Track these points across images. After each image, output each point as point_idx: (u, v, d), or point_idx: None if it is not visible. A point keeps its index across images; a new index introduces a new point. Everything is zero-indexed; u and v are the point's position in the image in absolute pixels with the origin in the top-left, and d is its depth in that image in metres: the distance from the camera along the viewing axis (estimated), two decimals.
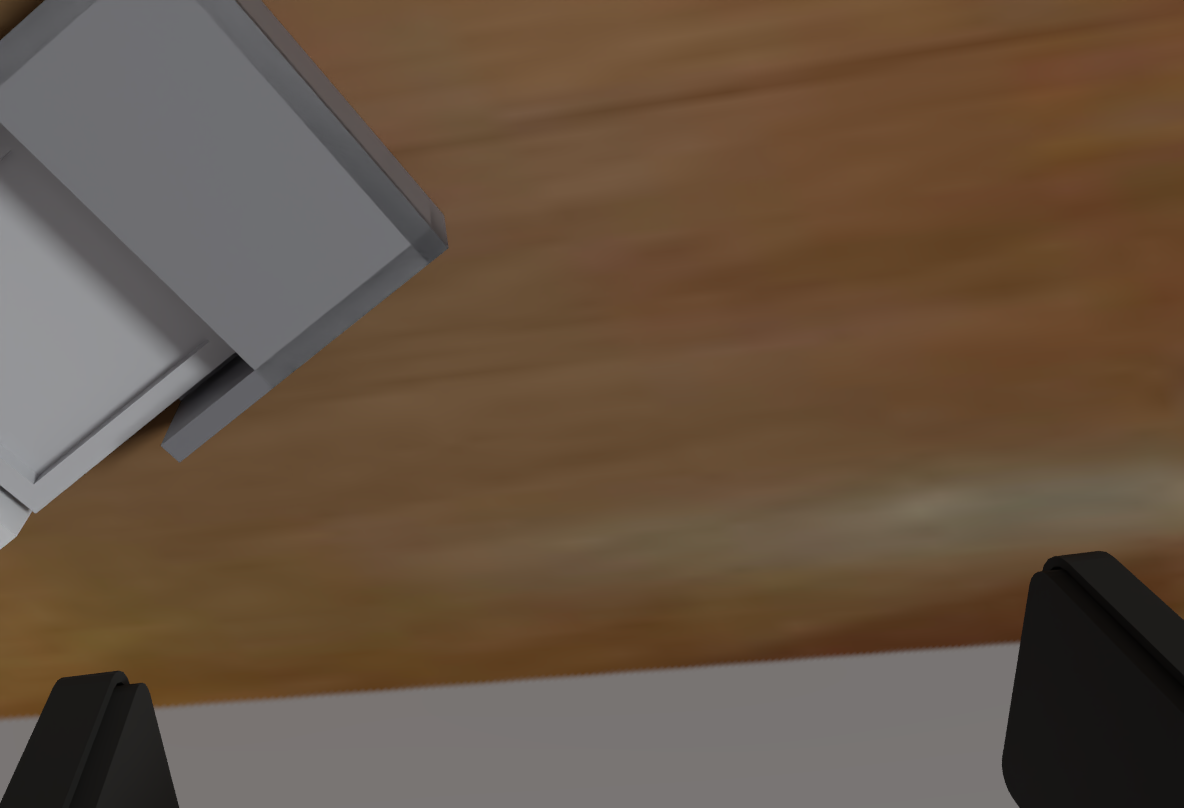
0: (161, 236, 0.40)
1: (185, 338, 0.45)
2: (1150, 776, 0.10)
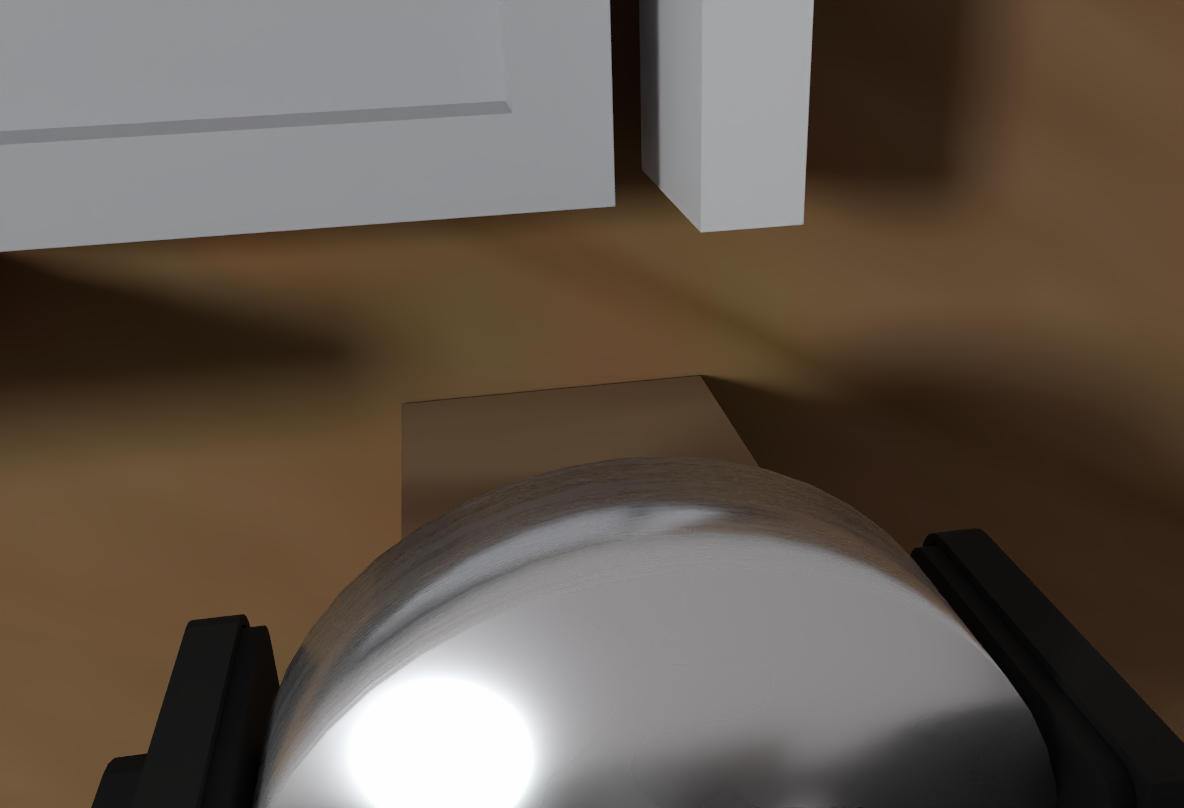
0: None
1: None
2: None
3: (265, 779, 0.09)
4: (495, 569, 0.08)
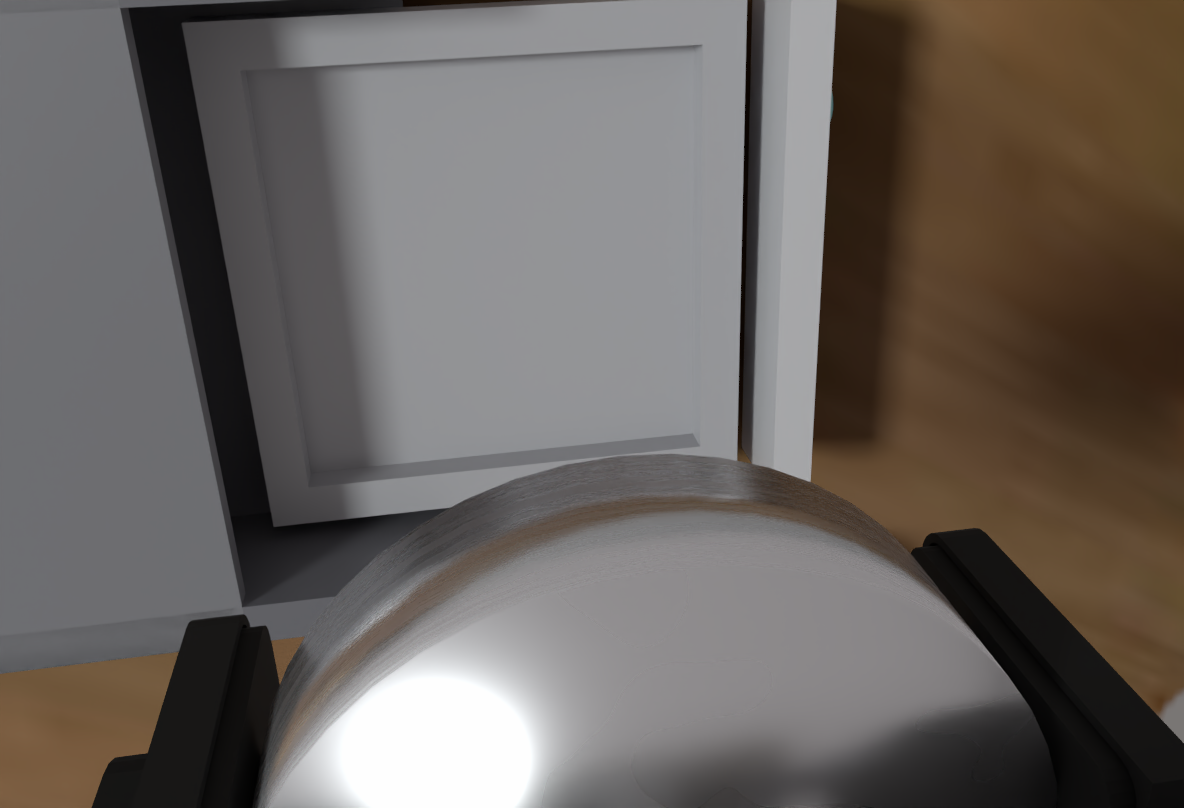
0: (122, 325, 0.22)
1: (292, 90, 0.24)
2: None
3: (265, 777, 0.09)
4: (496, 566, 0.08)
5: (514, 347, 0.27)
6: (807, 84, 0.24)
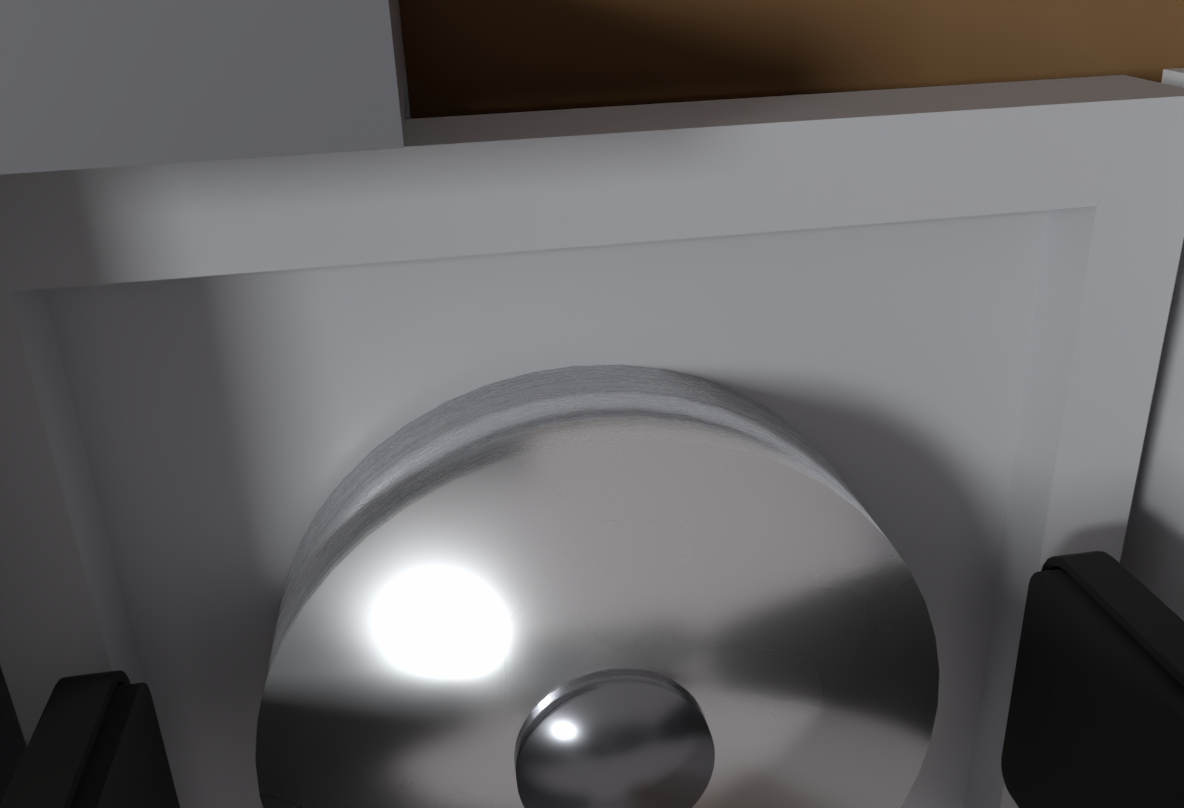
0: None
1: (155, 314, 0.10)
2: (1149, 776, 0.10)
3: (281, 621, 0.11)
4: (468, 445, 0.10)
5: None
6: None
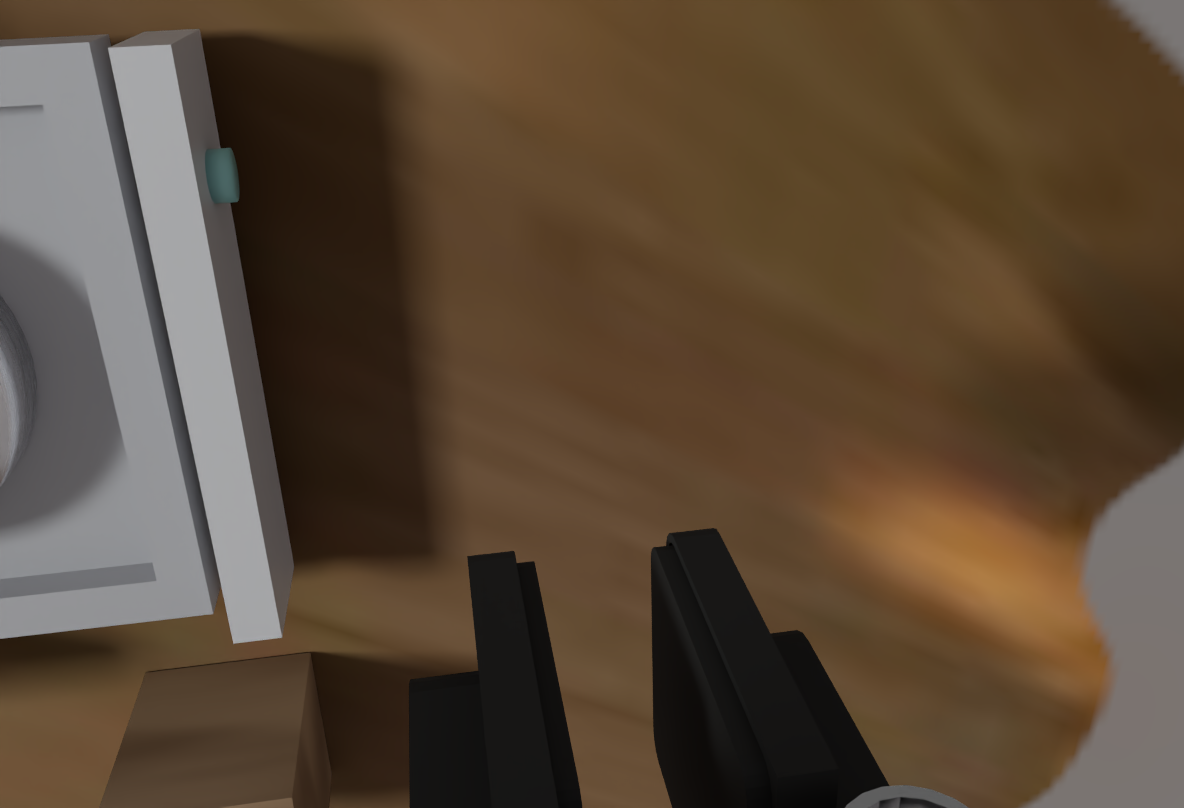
0: None
1: None
2: (699, 735, 0.10)
3: None
4: None
5: None
6: (157, 157, 0.19)
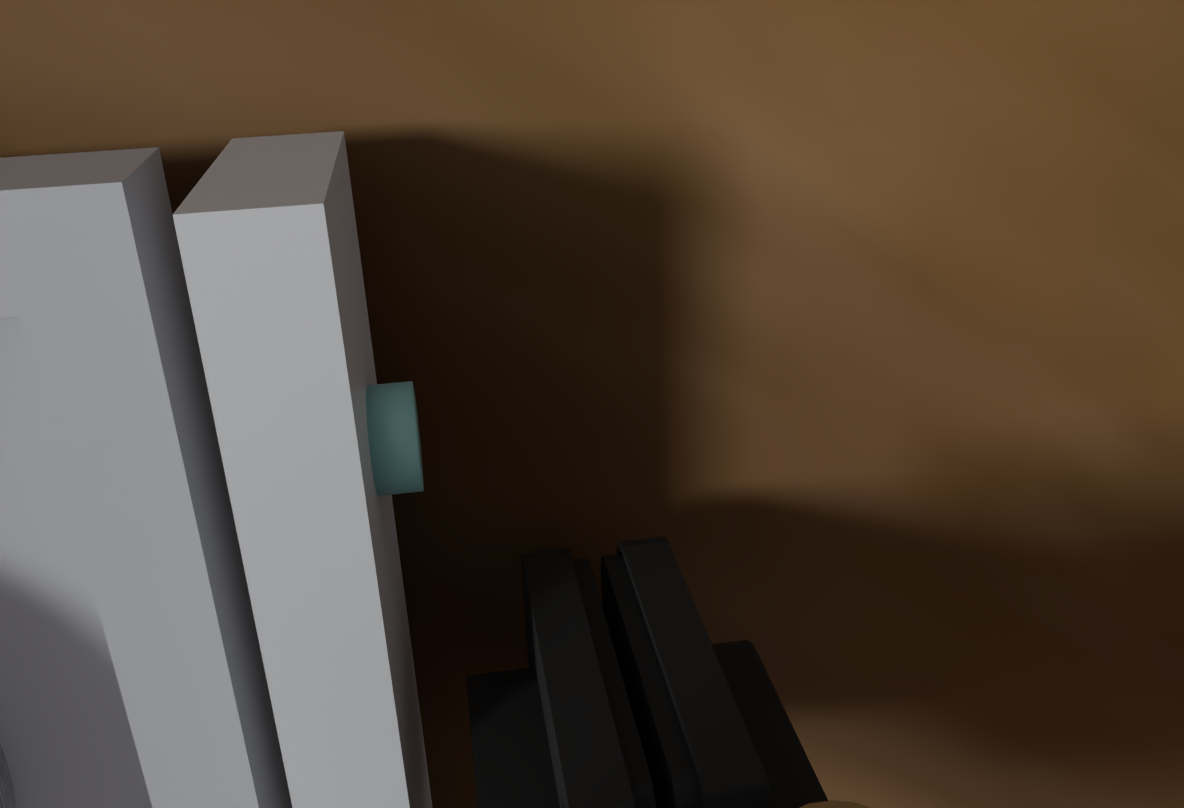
0: None
1: None
2: None
3: None
4: None
5: None
6: (282, 447, 0.08)
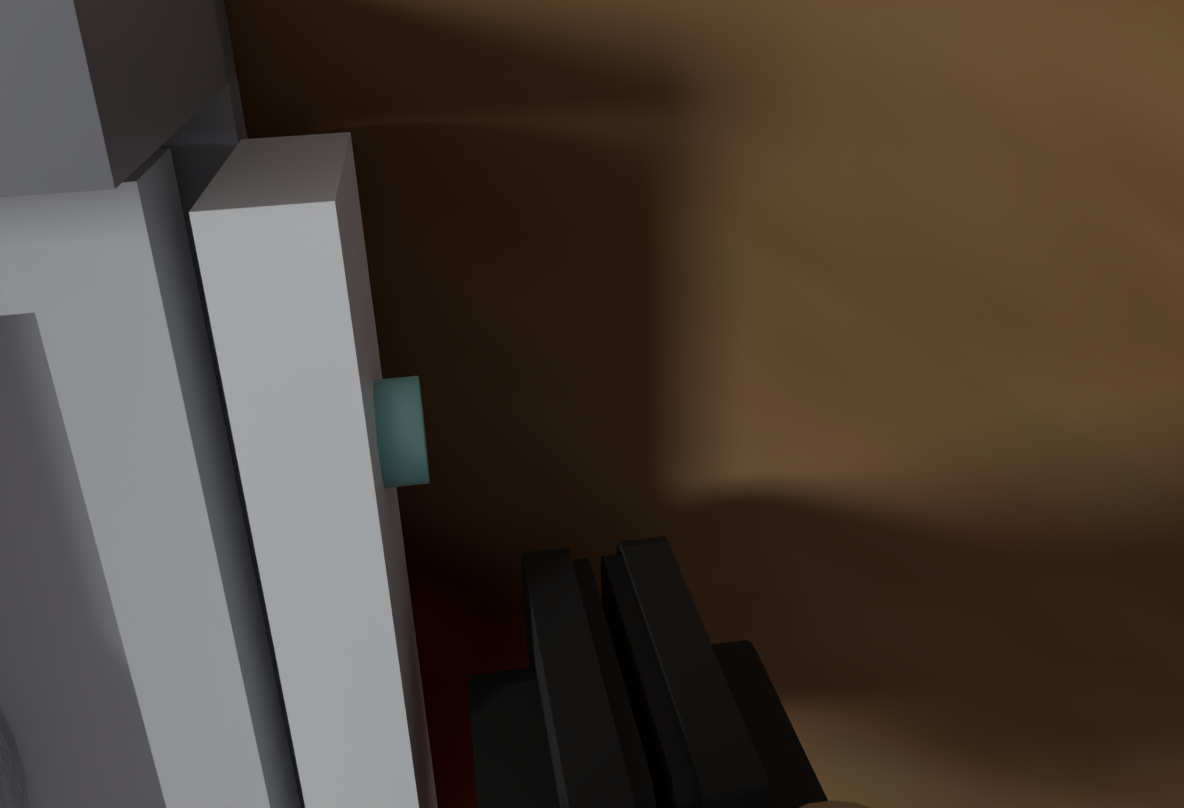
0: None
1: None
2: None
3: None
4: None
5: None
6: (294, 440, 0.08)
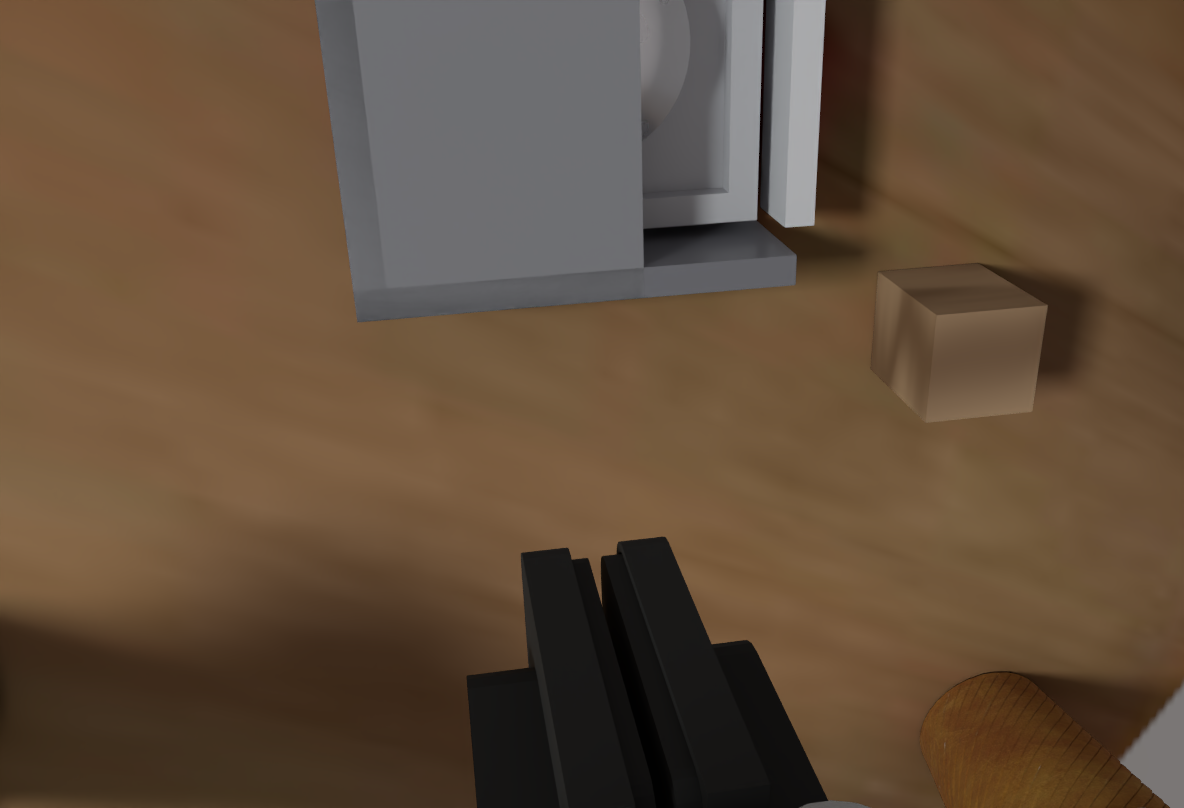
0: (599, 35, 0.31)
1: None
2: None
3: None
4: None
5: None
6: None
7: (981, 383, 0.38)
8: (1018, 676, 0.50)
